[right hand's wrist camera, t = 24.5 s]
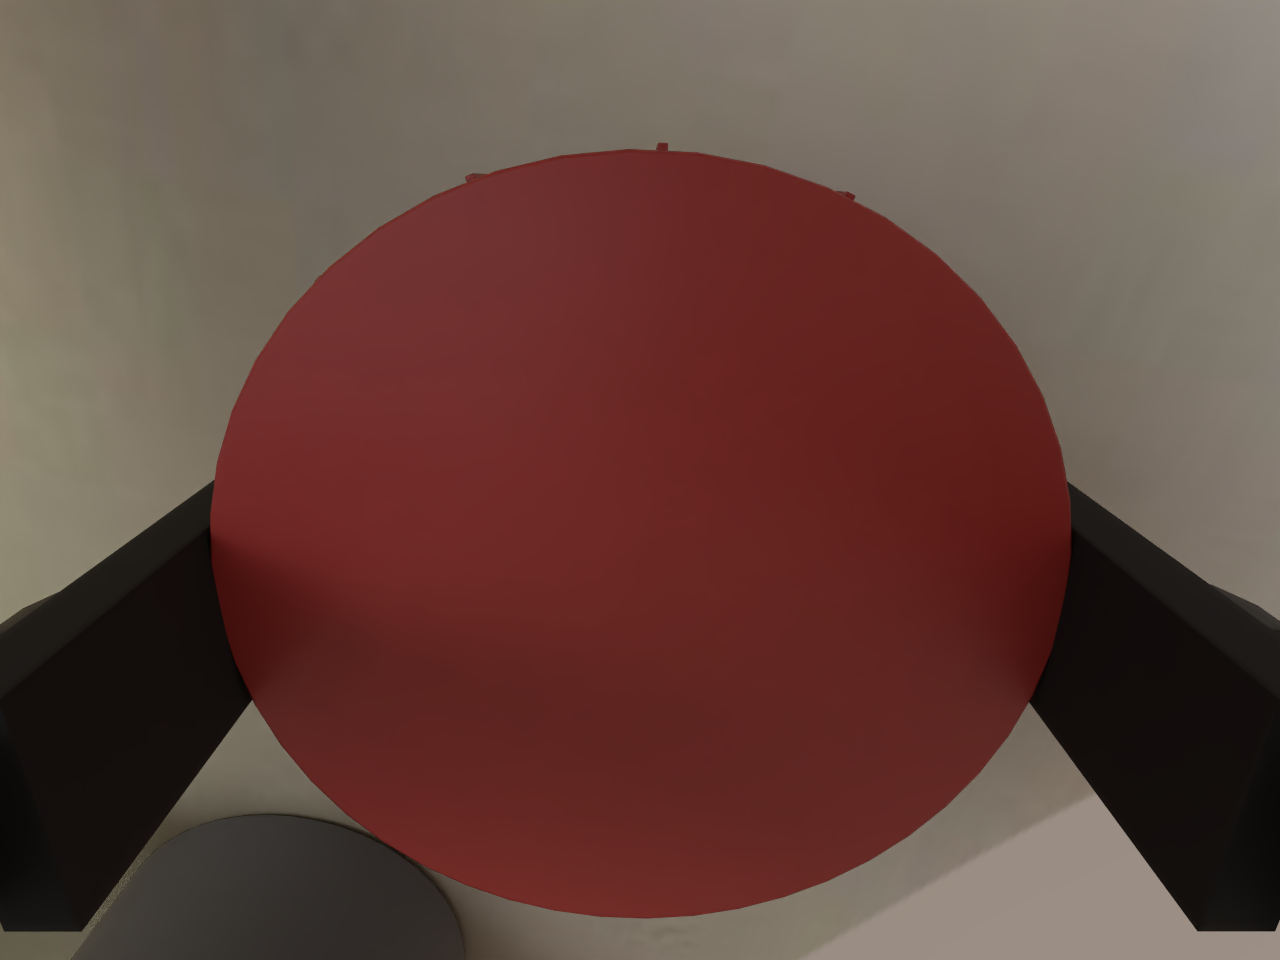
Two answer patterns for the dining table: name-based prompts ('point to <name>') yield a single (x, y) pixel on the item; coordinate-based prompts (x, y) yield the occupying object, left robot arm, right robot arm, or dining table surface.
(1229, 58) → the dining table surface
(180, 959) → the jar
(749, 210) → the lid
